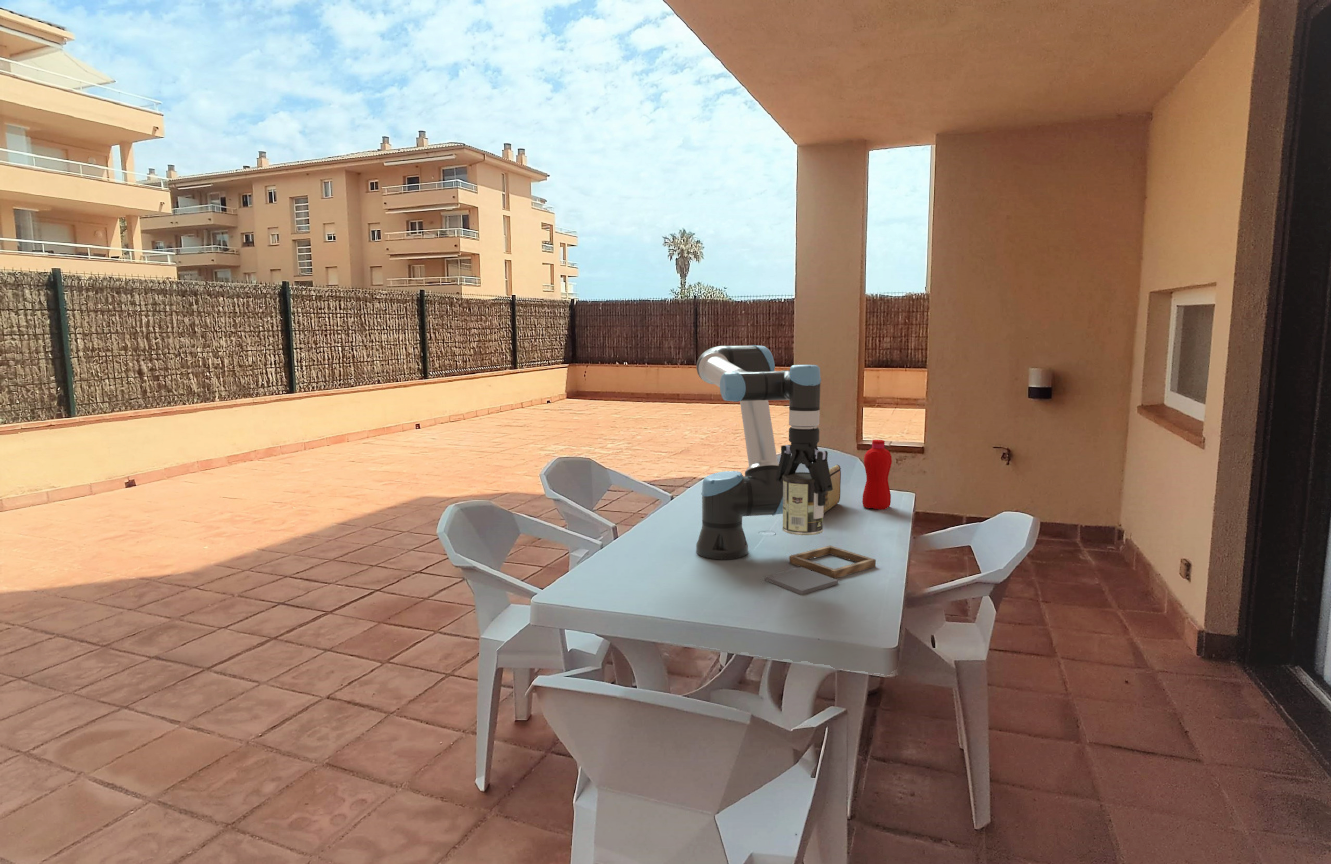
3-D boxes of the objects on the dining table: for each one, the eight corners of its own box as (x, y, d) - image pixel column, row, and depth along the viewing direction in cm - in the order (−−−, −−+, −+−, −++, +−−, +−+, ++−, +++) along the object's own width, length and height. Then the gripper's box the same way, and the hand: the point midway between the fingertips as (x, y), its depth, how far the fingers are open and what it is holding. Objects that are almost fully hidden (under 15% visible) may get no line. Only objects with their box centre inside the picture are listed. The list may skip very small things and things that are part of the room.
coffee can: (818, 524, 188) (819, 471, 186) (826, 535, 178) (827, 479, 176) (779, 524, 188) (779, 471, 187) (784, 535, 178) (785, 479, 176)
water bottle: (893, 505, 267) (896, 438, 263) (885, 511, 257) (887, 442, 254) (868, 502, 271) (870, 436, 268) (860, 508, 262) (861, 440, 259)
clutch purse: (823, 501, 274) (824, 462, 272) (841, 503, 271) (842, 464, 269) (797, 519, 248) (798, 476, 246) (817, 521, 245) (818, 478, 243)
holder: (834, 578, 187) (834, 571, 187) (789, 562, 201) (789, 555, 201) (875, 566, 197) (875, 559, 197) (829, 552, 210) (830, 545, 210)
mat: (801, 594, 176) (801, 590, 176) (765, 580, 187) (765, 576, 187) (838, 583, 183) (838, 580, 183) (801, 570, 194) (801, 567, 194)
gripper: (849, 430, 173) (847, 520, 176) (783, 421, 191) (782, 503, 194) (828, 432, 168) (826, 525, 171) (762, 423, 187) (761, 507, 190)
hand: (802, 513), depth 183 cm, fingers closed on coffee can, 10 cm apart
